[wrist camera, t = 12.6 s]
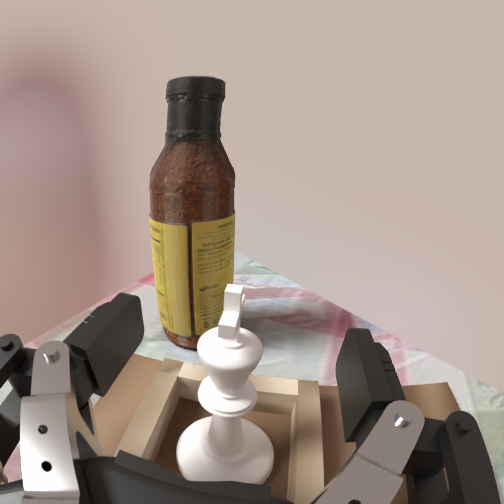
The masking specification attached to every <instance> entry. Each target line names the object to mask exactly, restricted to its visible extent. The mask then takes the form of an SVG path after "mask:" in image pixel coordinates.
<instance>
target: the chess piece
mask: <svg viewBox="0 0 504 504" xmlns="http://www.w3.org/2000/svg"><path fill="white" fill-rule="evenodd" d="M244 300H245V295H244V294H243V286H240V285H233V284H227V287H226V289H225V291H224V311H223V314H222V316H221V319H220V321H219V324H218V327H216V328H213V329H210V330H208V331H207V332H205V333H204V334H203V335H202V336H201V337H200V339H199V341H198V344H197V351H198V355H199V357H200V359H201V362H202V364H203V365H204V367H205V368H206V370H207V372H208V375H209V376H208V377H206V378H205V379H204V380H203V381H202V383H201V385H200V387H199V390H198V399H199V402H200V404H201V405H202V406H203V408H204V409H206V410H207V411H208V412H210V413H211V414H213V415H212V416H210V417H206V418H203V419H200V420H198V421H196V422H194V423H193V424H191V425H190V426H189V427H187V428H186V429H185V430H184V432H183V433H182V434H181V436H180V438H179V440H178V443H177V448H176V460H177V465H178V468H179V470H180V472H181V473H182V475H183V476H184V477H185V479H186V480H189V481H237V482H244V483H252V484H263V483H264V482H265V480H266V479H267V478H268V477H269V475H270V473H271V471H272V468H273V464H274V450H273V446H272V443H271V441H270V439H269V437H268V436H267V435H266V433H265V432H264V431H263V430H262V429H261V428H259V427H258V426H257V425H255V424H254V423H252V422H250V421H248V420H245V419H243V418H241V416H242V415H244V414H246V413H248V412H249V411H250V410H251V409H252V408H253V407H254V406H255V404H256V401H257V392H256V389H255V386H254V384H253V383H252V382H251V380H250V379H248V378H249V375H250V374H251V372H252V371H253V370H254V369H255V368H256V366H257V364H258V363H259V361H260V359H261V357H262V354H263V346H262V343H261V341H260V339H259V338H258V337H257V336H256V335H255V334H254V333H252V332H250V331H249V330H247V329H244V328H241V327H240V320H241V315H242V312H243V308H244Z"/></svg>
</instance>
